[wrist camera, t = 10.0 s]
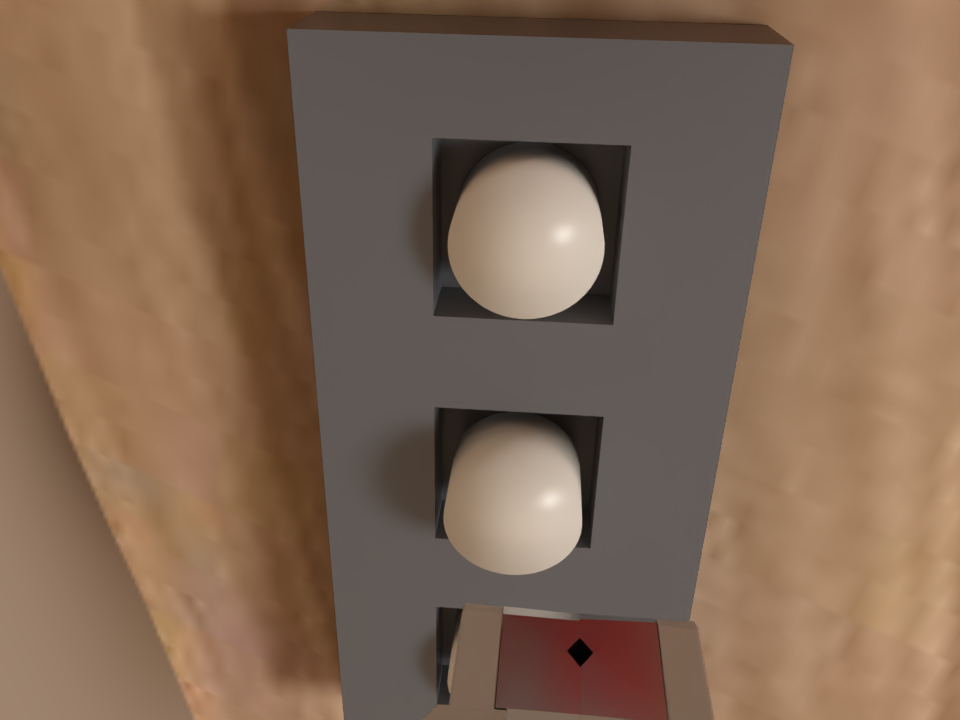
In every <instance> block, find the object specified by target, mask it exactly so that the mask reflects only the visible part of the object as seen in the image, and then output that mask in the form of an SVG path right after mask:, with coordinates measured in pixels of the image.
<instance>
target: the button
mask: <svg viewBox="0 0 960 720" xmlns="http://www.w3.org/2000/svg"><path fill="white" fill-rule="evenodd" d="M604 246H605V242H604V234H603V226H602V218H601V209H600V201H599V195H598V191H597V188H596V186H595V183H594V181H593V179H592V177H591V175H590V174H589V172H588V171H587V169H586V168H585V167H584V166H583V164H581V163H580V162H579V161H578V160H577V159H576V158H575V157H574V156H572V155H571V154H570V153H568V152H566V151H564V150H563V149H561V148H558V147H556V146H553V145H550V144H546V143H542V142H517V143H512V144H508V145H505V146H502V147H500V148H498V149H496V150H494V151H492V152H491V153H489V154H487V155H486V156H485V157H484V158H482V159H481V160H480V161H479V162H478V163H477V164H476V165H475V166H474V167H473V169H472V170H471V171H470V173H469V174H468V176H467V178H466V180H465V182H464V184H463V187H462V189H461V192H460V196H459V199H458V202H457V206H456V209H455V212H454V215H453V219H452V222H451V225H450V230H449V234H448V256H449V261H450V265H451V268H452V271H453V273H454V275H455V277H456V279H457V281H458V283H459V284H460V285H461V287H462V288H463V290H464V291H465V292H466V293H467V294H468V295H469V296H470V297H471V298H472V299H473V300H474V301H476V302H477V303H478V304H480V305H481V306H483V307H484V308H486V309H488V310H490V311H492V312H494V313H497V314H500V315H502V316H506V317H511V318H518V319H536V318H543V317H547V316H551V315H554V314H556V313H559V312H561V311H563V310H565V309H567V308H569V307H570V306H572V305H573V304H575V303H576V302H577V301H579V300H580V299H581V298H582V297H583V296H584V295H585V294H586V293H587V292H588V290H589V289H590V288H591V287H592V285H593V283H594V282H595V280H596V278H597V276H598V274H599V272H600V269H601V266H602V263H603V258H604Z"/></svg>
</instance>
